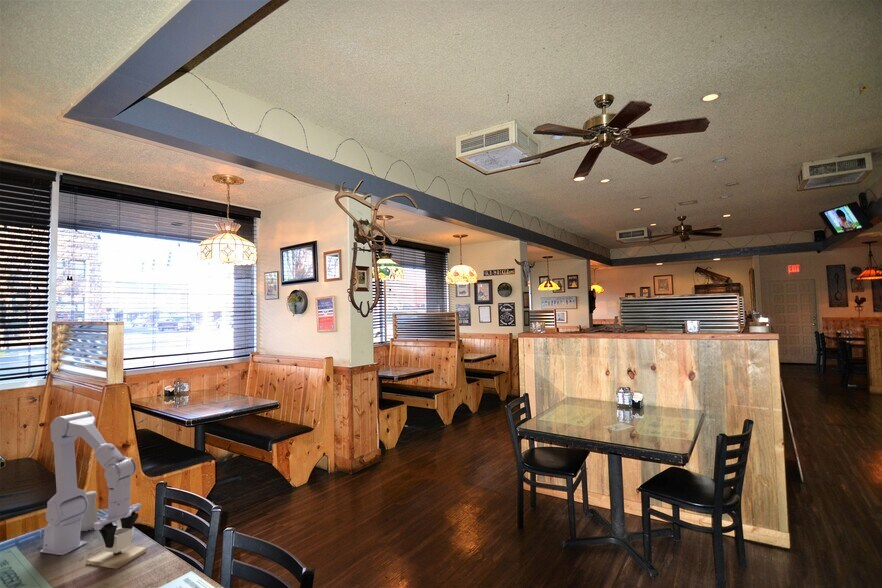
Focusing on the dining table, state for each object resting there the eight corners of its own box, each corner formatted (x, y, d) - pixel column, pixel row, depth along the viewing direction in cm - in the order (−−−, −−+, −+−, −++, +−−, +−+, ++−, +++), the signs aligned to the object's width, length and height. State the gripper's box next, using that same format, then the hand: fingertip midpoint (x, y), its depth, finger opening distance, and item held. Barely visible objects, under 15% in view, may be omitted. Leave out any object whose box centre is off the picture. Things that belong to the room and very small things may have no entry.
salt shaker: (86, 533, 153) (87, 496, 154) (73, 532, 154) (74, 494, 155) (102, 526, 159) (103, 489, 159) (89, 524, 160) (91, 488, 160)
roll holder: (86, 564, 134) (86, 543, 134) (116, 547, 144) (117, 528, 144) (117, 568, 131) (118, 547, 132) (146, 551, 141) (147, 532, 142)
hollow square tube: (103, 551, 136) (104, 534, 136) (118, 543, 141) (119, 527, 141) (116, 553, 135) (117, 536, 135) (131, 544, 140) (131, 528, 140)
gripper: (107, 510, 131) (105, 556, 130) (149, 491, 145) (147, 532, 144) (88, 507, 132) (86, 553, 131) (132, 489, 146) (130, 530, 146)
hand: (117, 542), depth 138 cm, fingers closed on hollow square tube, 5 cm apart
